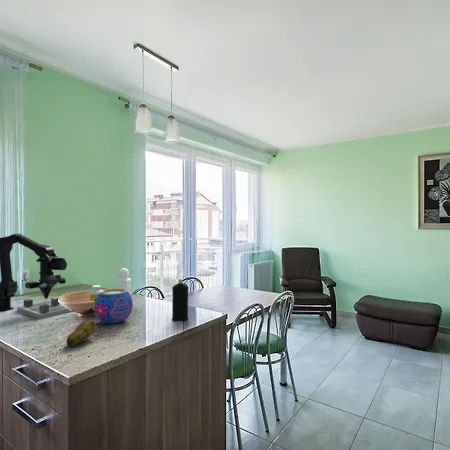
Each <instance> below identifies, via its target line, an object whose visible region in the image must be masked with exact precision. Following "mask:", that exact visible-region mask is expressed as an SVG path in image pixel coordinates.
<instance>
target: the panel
mask: <svg viewBox="0 0 450 450" xmlns="http://www.w3.org/2000/svg"><path fill="white" fill-rule="evenodd" d="M16 310H17V312H19V313H22V314H25V315H27V316H30V317H32V318H35V319H38V320H42V319H46V318H50V317H53V316H54V317H55V316H59V315H62V314H67V313H70V312H71V311H70V310H69V309H67V308H65V307H64V306H62V305H61V304H59V305H51V300H46V301H41V302H37V303H34V301H33V299H31V298H28V299H23V305H20V306H17V309H16Z"/></svg>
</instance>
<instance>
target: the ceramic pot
mask: <svg viewBox="0 0 450 450" xmlns="http://www.w3.org/2000/svg"><path fill="white" fill-rule="evenodd" d="M94 303H95V305H94V309H95V310H94V313H95V315H96V317H97V319H98V321H100V322H103V323H105V324H111V325H113V324H118V323H121V322H123V321H125V320H127V319H128V317H129V316H130V315H131V312H132V310H133V307H134V305H133V304H134V302H133V298H132V294H131V295H130V294H129V292H128V291H126V290H124V289H116V288H109V289H105V290H102V292H101V293H100V294H99V295H98V296H97V298H96V299H95V301H94Z"/></svg>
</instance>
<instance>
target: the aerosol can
mask: <svg viewBox="0 0 450 450" xmlns="http://www.w3.org/2000/svg"><path fill="white" fill-rule="evenodd" d="M171 289H172V290H171V291H172V294H171V295H172V298H171V299H172V313H171V315H172V317H171V320H172V321H173V320H174V322H176V321H182V322H186V321H188V320H189V289H190V288H189V286H188V285H187V284H186V283H184V282H183V278H178V283H176V284H174V285H173V286H172V287H171ZM185 320H186V321H185Z"/></svg>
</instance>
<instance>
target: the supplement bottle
mask: <svg viewBox="0 0 450 450" xmlns="http://www.w3.org/2000/svg"><path fill="white" fill-rule="evenodd" d="M101 288H102V286H101V284H96V285H95V284H94V285H92V286H91V290H90V292H89V302H90V301H95V299H96V298H97V296H98V295H99V294H100V293H101V292H102V291H103V290H102V289H101Z"/></svg>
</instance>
